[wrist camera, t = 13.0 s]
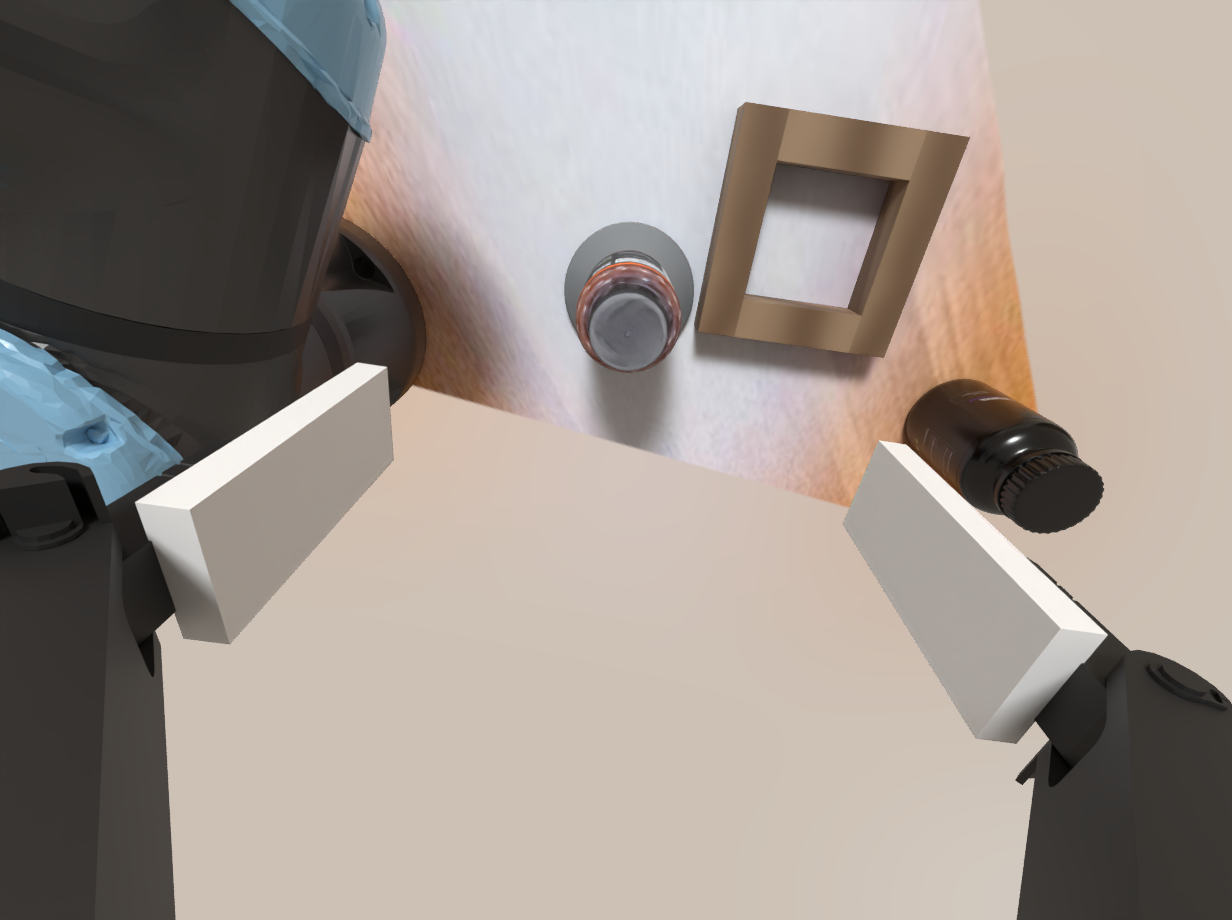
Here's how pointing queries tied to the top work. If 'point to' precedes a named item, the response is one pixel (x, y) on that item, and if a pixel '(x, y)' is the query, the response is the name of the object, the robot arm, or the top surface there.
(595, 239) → the slate coaster
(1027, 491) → the supplement bottle
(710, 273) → the frame
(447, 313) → the top surface
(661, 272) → the supplement bottle
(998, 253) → the top surface
